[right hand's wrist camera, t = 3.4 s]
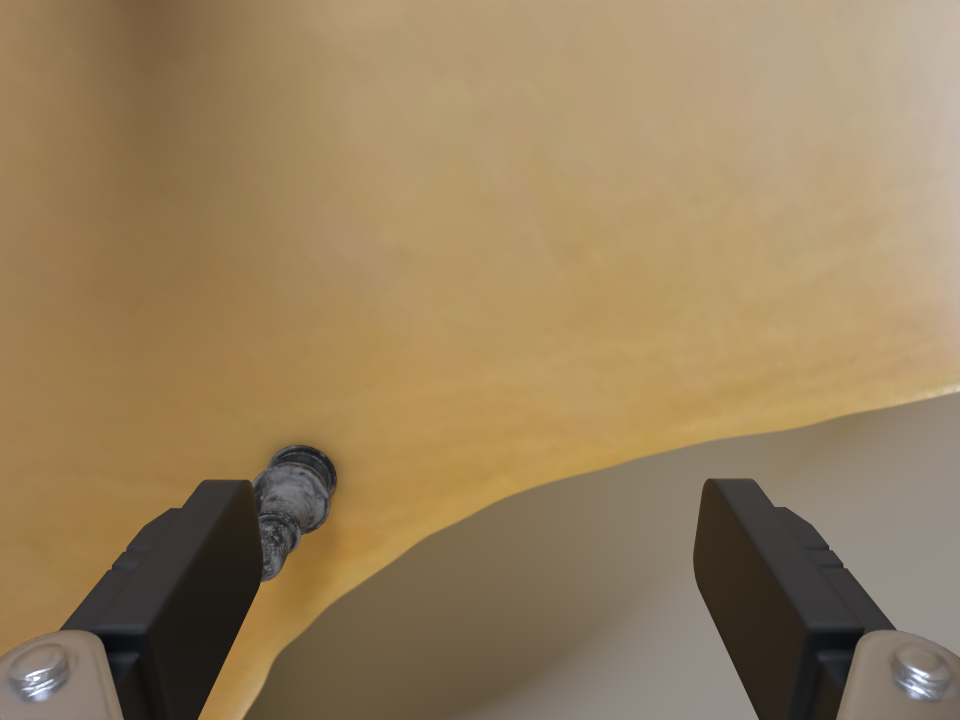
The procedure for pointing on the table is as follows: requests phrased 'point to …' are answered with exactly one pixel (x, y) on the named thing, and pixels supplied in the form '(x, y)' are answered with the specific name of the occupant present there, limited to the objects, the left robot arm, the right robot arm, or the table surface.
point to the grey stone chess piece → (291, 502)
